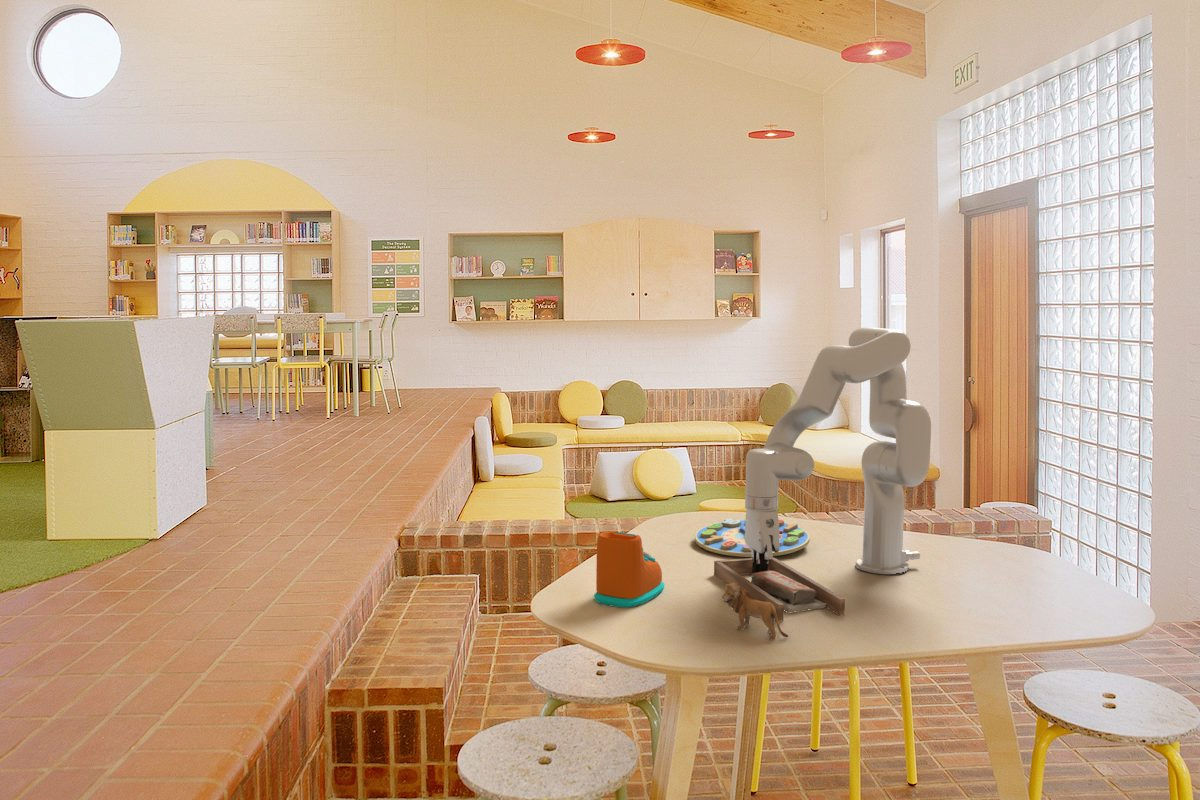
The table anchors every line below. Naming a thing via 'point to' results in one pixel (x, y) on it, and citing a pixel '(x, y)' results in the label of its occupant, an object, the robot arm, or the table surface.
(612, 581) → the toy shoe
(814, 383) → the robot arm
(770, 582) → the packaged product
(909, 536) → the table surface
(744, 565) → the open-ended wooden frame
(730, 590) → the lion figurine
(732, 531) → the shape sorting clock
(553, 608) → the table surface
